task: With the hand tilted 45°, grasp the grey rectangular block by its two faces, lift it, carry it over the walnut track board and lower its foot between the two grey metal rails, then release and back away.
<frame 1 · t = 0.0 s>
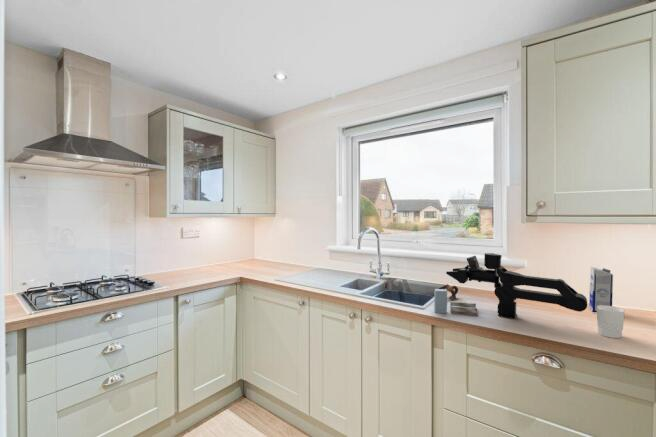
hand: (449, 271, 158), 17 cm above the worktop, tool horizontal, fingers open, 9 cm apart
grey rectangular block: (440, 311, 148), on the worktop
white cup: (609, 335, 122), on the worktop
milk carton: (600, 311, 149), on the worktop
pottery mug: (447, 298, 171), on the worktop
bottom track: (463, 311, 149), on the worktop
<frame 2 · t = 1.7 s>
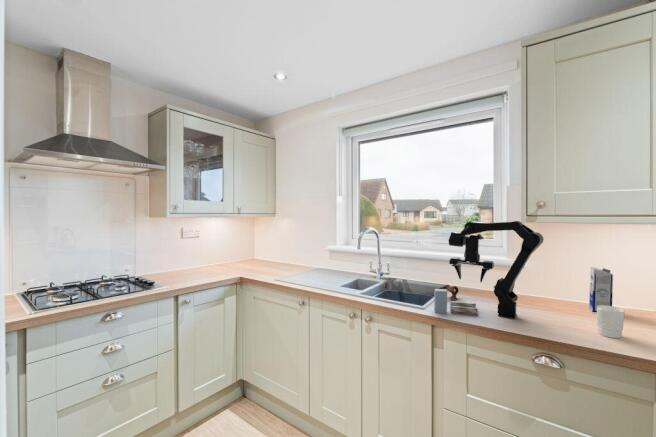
hand: (470, 280, 154), 13 cm above the worktop, tool pointing down, fingers open, 9 cm apart
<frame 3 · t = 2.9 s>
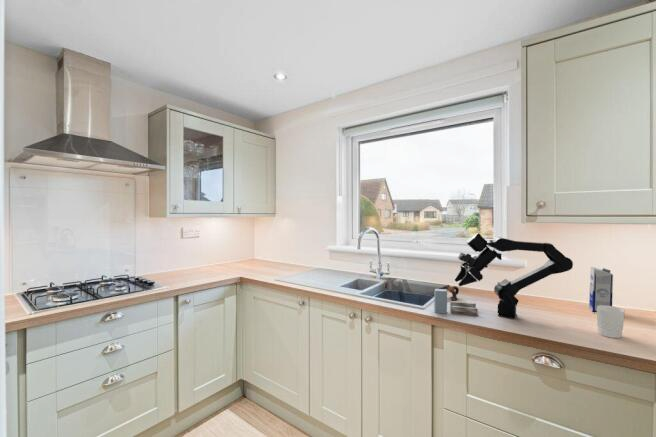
hand: (457, 283, 147), 13 cm above the worktop, tool tilted 45°, fingers open, 9 cm apart
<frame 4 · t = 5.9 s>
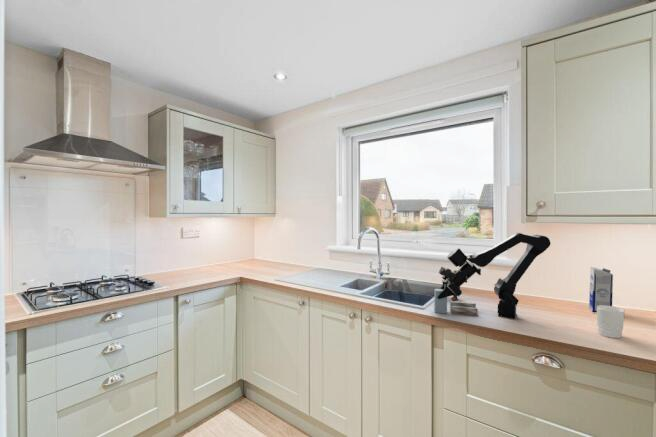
hand: (437, 297, 149), 7 cm above the worktop, tool tilted 45°, fingers closed on grey rectangular block, 3 cm apart
grey rectangular block: (440, 311, 148), on the worktop, touching gripper
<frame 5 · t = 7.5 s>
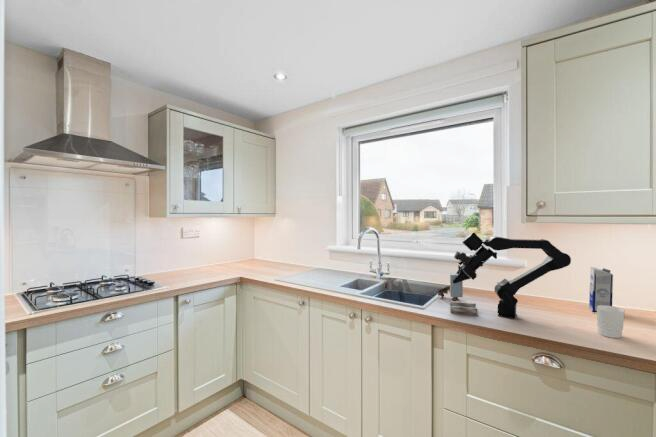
hand: (453, 281, 149), 14 cm above the worktop, tool tilted 45°, fingers closed on grey rectangular block, 3 cm apart
grey rectangular block: (456, 296, 149), point 7 cm above the worktop, touching gripper
when the fingers open (8 cm above the worktop, at t = 9.3 s): grey rectangular block stays where it is, resting on bottom track.
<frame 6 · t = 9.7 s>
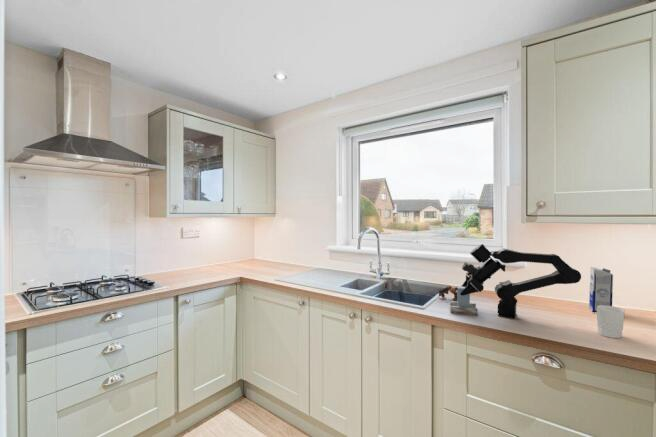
hand: (460, 292, 149), 9 cm above the worktop, tool tilted 45°, fingers open, 8 cm apart
grey rectangular block: (463, 309, 149), point 1 cm above the worktop, touching bottom track
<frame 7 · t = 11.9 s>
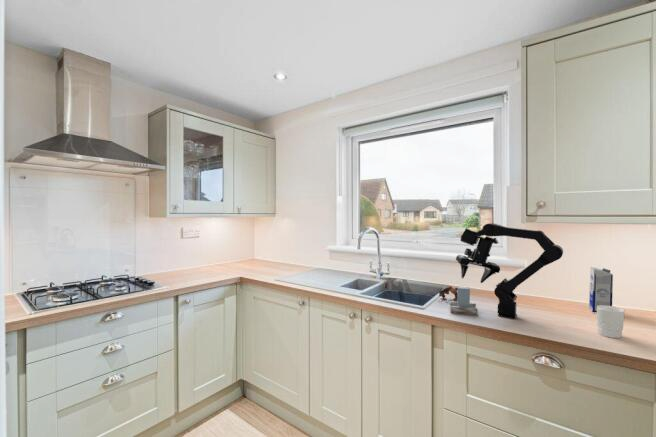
hand: (471, 280, 152), 14 cm above the worktop, tool tilted 15°, fingers open, 9 cm apart
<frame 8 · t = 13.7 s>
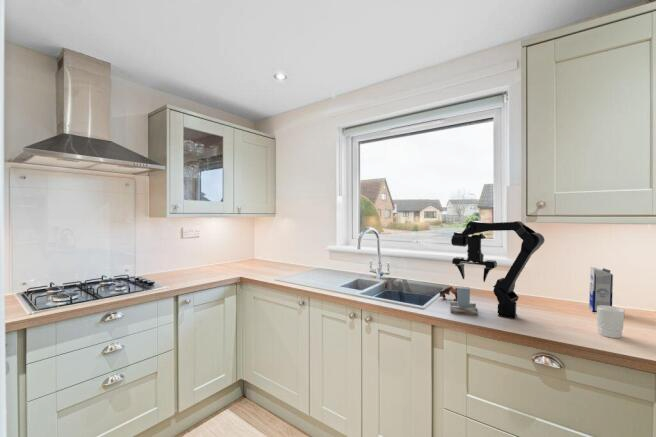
hand: (473, 280, 154), 13 cm above the worktop, tool pointing down, fingers open, 9 cm apart
at the end: grey rectangular block inside the target area on the bottom track (0.0 cm from its centre), point 1.0 cm above the bottom track's base; grey rectangular block tilted 0°; the gripper is holding nothing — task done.
